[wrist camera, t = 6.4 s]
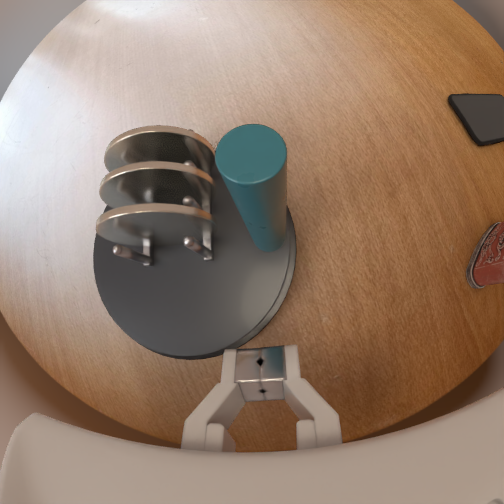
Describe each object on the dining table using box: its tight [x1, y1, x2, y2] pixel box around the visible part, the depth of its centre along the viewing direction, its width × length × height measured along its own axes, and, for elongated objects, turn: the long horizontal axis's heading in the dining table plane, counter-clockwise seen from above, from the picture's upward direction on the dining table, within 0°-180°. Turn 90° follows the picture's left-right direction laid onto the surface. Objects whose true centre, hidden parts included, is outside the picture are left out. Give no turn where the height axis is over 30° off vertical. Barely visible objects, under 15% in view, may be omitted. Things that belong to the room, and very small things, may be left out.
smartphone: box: [448, 94, 504, 145], centre depth 22 cm, size 7×1×15 cm
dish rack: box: [93, 124, 290, 356], centre depth 16 cm, size 17×17×13 cm
